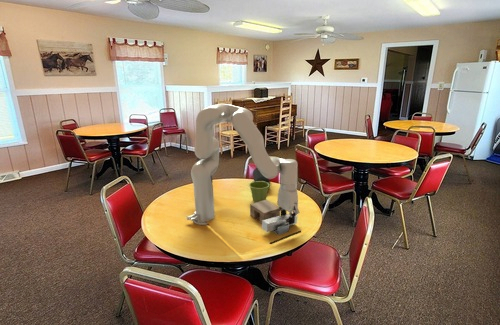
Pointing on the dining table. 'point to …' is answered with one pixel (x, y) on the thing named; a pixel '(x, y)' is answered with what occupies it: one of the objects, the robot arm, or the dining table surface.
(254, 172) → the portable speaker
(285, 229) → the v-block
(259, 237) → the dining table surface
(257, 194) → the plant pot
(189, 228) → the dining table surface
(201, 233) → the dining table surface
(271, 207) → the slotted wooden block
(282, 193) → the robot arm
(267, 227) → the rectangular steel bar
